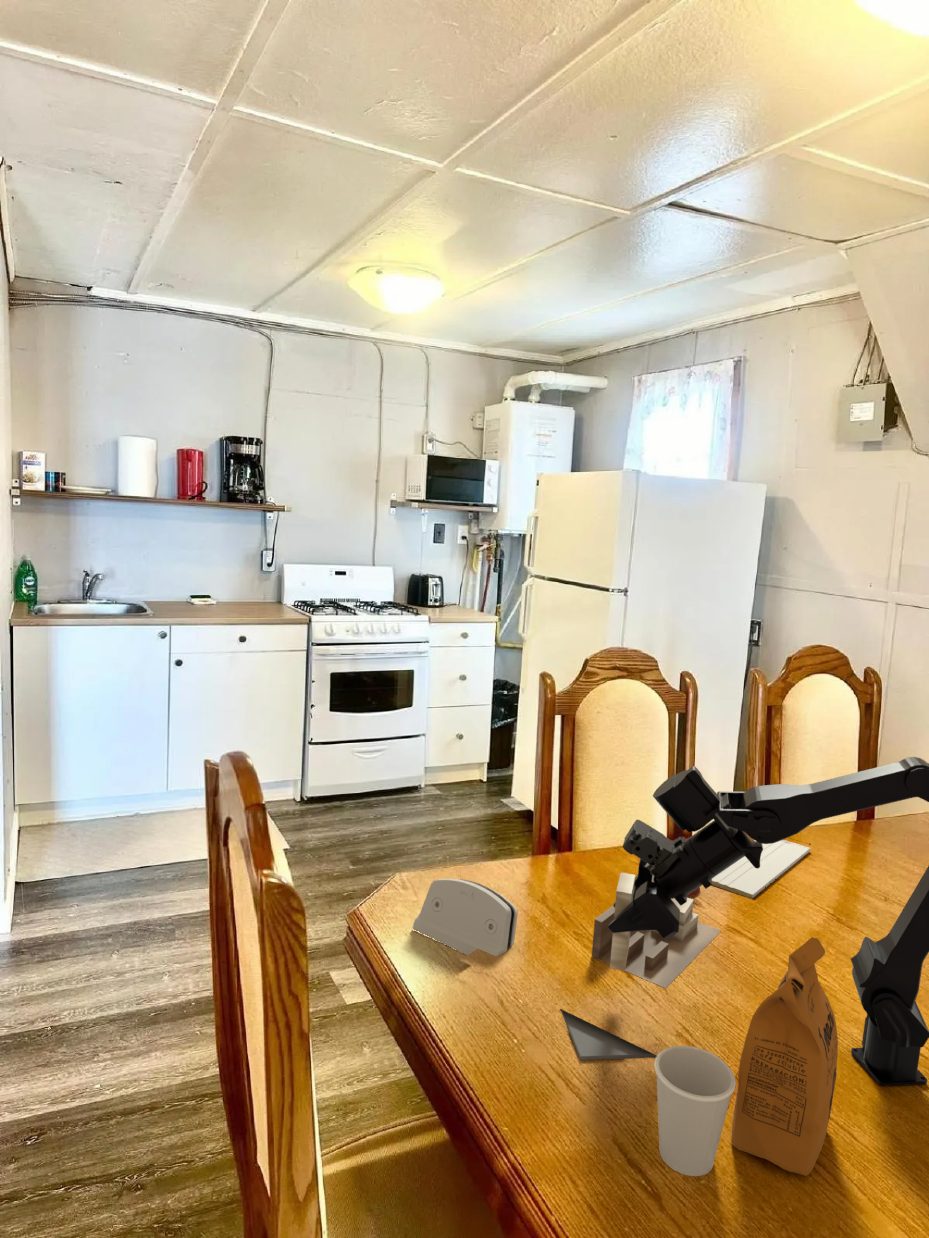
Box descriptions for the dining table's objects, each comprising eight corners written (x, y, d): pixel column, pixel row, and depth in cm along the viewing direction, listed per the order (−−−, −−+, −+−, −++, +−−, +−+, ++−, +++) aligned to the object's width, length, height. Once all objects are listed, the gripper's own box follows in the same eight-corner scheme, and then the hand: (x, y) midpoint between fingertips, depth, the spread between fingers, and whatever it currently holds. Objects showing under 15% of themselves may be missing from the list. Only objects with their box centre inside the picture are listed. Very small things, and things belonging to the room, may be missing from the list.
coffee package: (842, 1127, 93) (866, 947, 90) (811, 1195, 83) (836, 996, 80) (755, 1085, 99) (774, 916, 96) (717, 1144, 89) (737, 958, 86)
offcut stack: (697, 926, 134) (700, 901, 133) (681, 942, 128) (684, 916, 128) (666, 915, 137) (668, 890, 136) (649, 929, 132) (652, 904, 131)
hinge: (409, 929, 130) (425, 867, 132) (426, 928, 134) (442, 868, 136) (496, 968, 121) (512, 900, 122) (511, 965, 125) (527, 900, 126)
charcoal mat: (671, 1056, 103) (672, 1053, 103) (580, 1059, 102) (580, 1056, 101) (639, 999, 115) (640, 996, 115) (557, 1001, 113) (557, 998, 113)
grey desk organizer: (720, 938, 133) (725, 895, 132) (664, 997, 116) (669, 948, 115) (652, 913, 140) (656, 872, 139) (590, 965, 123) (594, 919, 122)
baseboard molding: (691, 880, 156) (752, 902, 148) (692, 865, 155) (753, 887, 148) (754, 837, 179) (809, 854, 171) (755, 824, 179) (811, 841, 171)
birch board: (628, 948, 114) (635, 874, 113) (624, 970, 109) (631, 893, 107) (614, 945, 115) (620, 872, 113) (609, 967, 109) (616, 890, 108)
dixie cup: (694, 1118, 93) (702, 1038, 91) (743, 1175, 85) (753, 1088, 84) (631, 1135, 90) (639, 1052, 88) (676, 1195, 82) (686, 1106, 81)
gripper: (666, 786, 117) (584, 846, 121) (659, 833, 99) (563, 901, 103) (718, 847, 115) (633, 905, 120) (720, 906, 98) (620, 972, 102)
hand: (612, 918), depth 111 cm, fingers closed on birch board, 6 cm apart
